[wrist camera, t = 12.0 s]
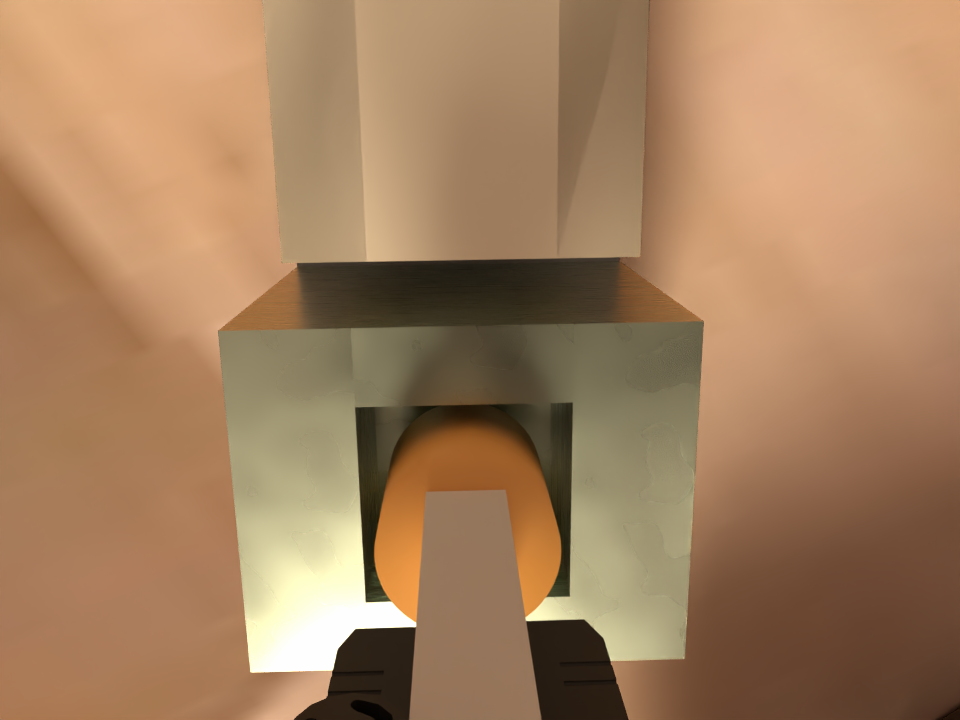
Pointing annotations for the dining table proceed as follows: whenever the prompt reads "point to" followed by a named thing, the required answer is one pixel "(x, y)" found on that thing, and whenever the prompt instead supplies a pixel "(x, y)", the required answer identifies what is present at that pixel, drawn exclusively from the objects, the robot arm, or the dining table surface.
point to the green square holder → (461, 381)
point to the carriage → (457, 128)
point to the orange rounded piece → (465, 467)
